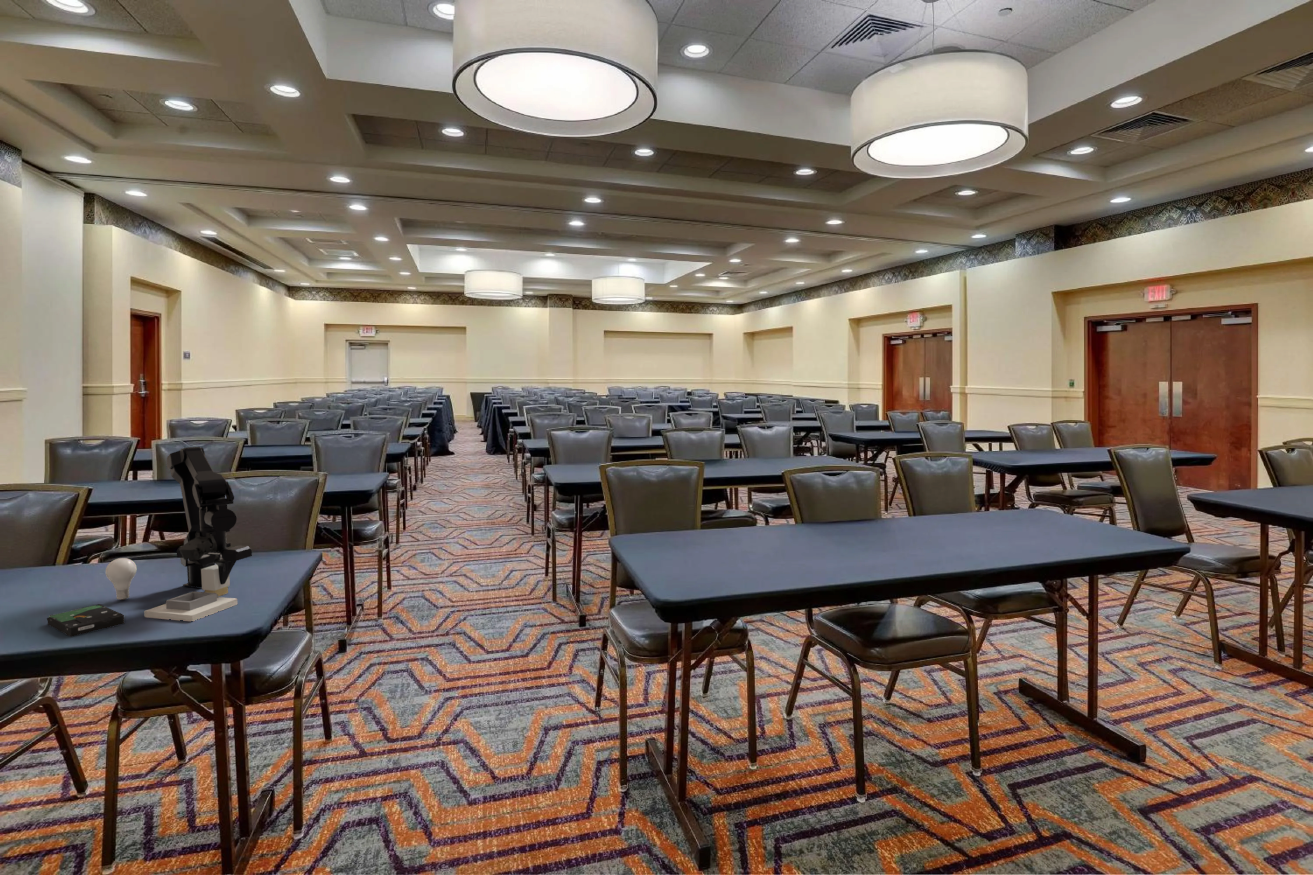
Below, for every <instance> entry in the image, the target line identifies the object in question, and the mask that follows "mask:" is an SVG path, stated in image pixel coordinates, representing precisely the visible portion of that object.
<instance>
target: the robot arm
mask: <svg viewBox="0 0 1313 875" xmlns="http://www.w3.org/2000/svg"><path fill="white" fill-rule="evenodd" d="M166 467H167V469H168V470H169V473H170V475H171V478H172V479H173V480H175V481H176V482H177V483H178V484H179V486H180V492H181V497H182V502H183V507H184V513H185V519H186V523H187V528H188V533H187V534H186V537H185V539H184V540H183V545H181V546H179V547H178V548H177V549H176V558H177V559H180V564H181V565H182V566H184V567H186V572H187V583H184V584H182V587H187V588H189V587H190V588H199V589H200V588H201V589H202V578H201V569H203V568H206V567H210V566H213V565H216V564H217V565H218V569H219V579H220V584H225V583H226V580H227V578H228V576H230V574H231V572H232V570H233V568H234V566H235V564H236V563H237V562H238V561H240V560H243V559H247V558H251V557H252V556H253V553H252V552H253V550H252V548H251V547H250V546H249V545H240V544H239V545H235V546H234V545H233V546H231V542H227V533H228V532H230V531H231V529H232V528H234V527H235V525H236V524H237V519H238V518H237V515H236V513H235V512H234V511H232V509H229V508H228V505H233V504H234V500H235V495H234V493H233V490H232V487H231V485H230V483H229V481H227V480H226V479H225V477H224V476H223V475H222V474H221V473H218V472H215V471H214V470H213V468H212V466H211V465H210V463H209V461H208V459H207V457H206V454H205V449H204V448H203V447H200V446H190V447H188V446H187V447H184V448H180V449H179V450H176V451H173V452H171V453H170V454H168V456H167V457H166Z"/></svg>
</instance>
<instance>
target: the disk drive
mask: <svg viewBox="0 0 1313 875" xmlns="http://www.w3.org/2000/svg"><path fill="white" fill-rule="evenodd" d="M46 621H47V625H48V626H50V627H51V628H53V629H56V630H57V631H59V632H60V633H63V634H65V635H66V636H67V637H70V638H72V637H76V636H80V635H85V634H88V633H92V632H97V631H101V630H104V629H109V628H112V627H113V626H114V627H116V626H117V627H118V626H120V625H125V615H124V614H123V613H121V612H118V611H116V610H114V609H111V608H109V607H107V606H105V605H102V604H100V603H98V604H93V605H88V606H84V607H79V608H74V609H72V610H66V611H64V612H59V613H54V614H53V613H51V614H49V615H48V617H47V618H46Z"/></svg>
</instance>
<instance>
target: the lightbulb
mask: <svg viewBox="0 0 1313 875" xmlns="http://www.w3.org/2000/svg"><path fill="white" fill-rule="evenodd" d="M137 567H138V566H137V565H136V563H135V562H134V560H132V559H130V558H127V557H119V558H116V559H114V560H112V561H111V562H109V563H108V564H107V565H106V567H105V576H106V579H108V580H109V581H110V582H111V583H112V585H113V587H114V590H115V593H116V598H115V599H116V600H119V601H125V600H127V599H129V598H130V586H131V585H132V584H131V583H132V580H133V579H134V577H136V574H137Z"/></svg>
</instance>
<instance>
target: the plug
mask: <svg viewBox="0 0 1313 875" xmlns="http://www.w3.org/2000/svg"><path fill="white" fill-rule="evenodd" d="M201 578H202V588H201V590H202V591H203V592H208V593H216V594H218V597H222V596H224V595H226V594H229V587H230V586H231V582H230V581H231V580H230V579H231V578H230V575H229V576H228V578H227V580H226V583H225V584H220V579H219V569H218V565H217V564H216V563H215V565H213V566H210V567H206V568H203V569H201Z"/></svg>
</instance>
